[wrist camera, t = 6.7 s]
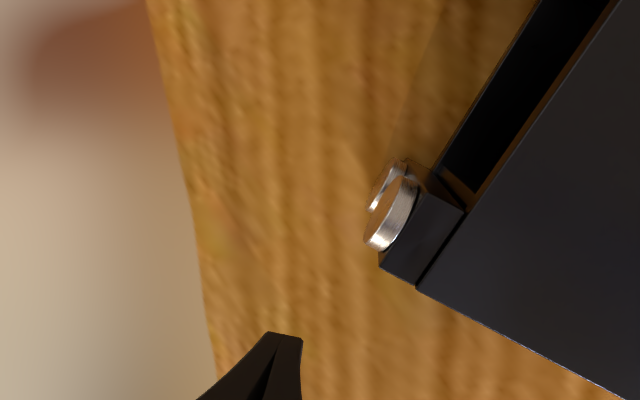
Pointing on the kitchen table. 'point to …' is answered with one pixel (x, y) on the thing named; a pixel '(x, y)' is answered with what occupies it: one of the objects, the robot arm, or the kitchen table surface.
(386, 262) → the microwave
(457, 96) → the kitchen table surface
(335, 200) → the kitchen table surface
